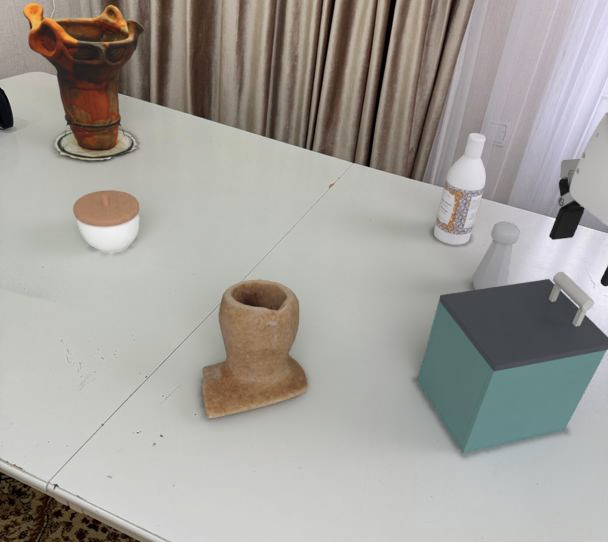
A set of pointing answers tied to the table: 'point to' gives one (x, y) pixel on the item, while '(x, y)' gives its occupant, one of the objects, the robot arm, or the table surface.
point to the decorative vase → (87, 76)
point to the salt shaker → (496, 257)
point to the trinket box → (108, 219)
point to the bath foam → (462, 194)
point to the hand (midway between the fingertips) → (585, 259)
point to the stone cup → (255, 350)
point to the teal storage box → (498, 390)
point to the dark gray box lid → (527, 322)
